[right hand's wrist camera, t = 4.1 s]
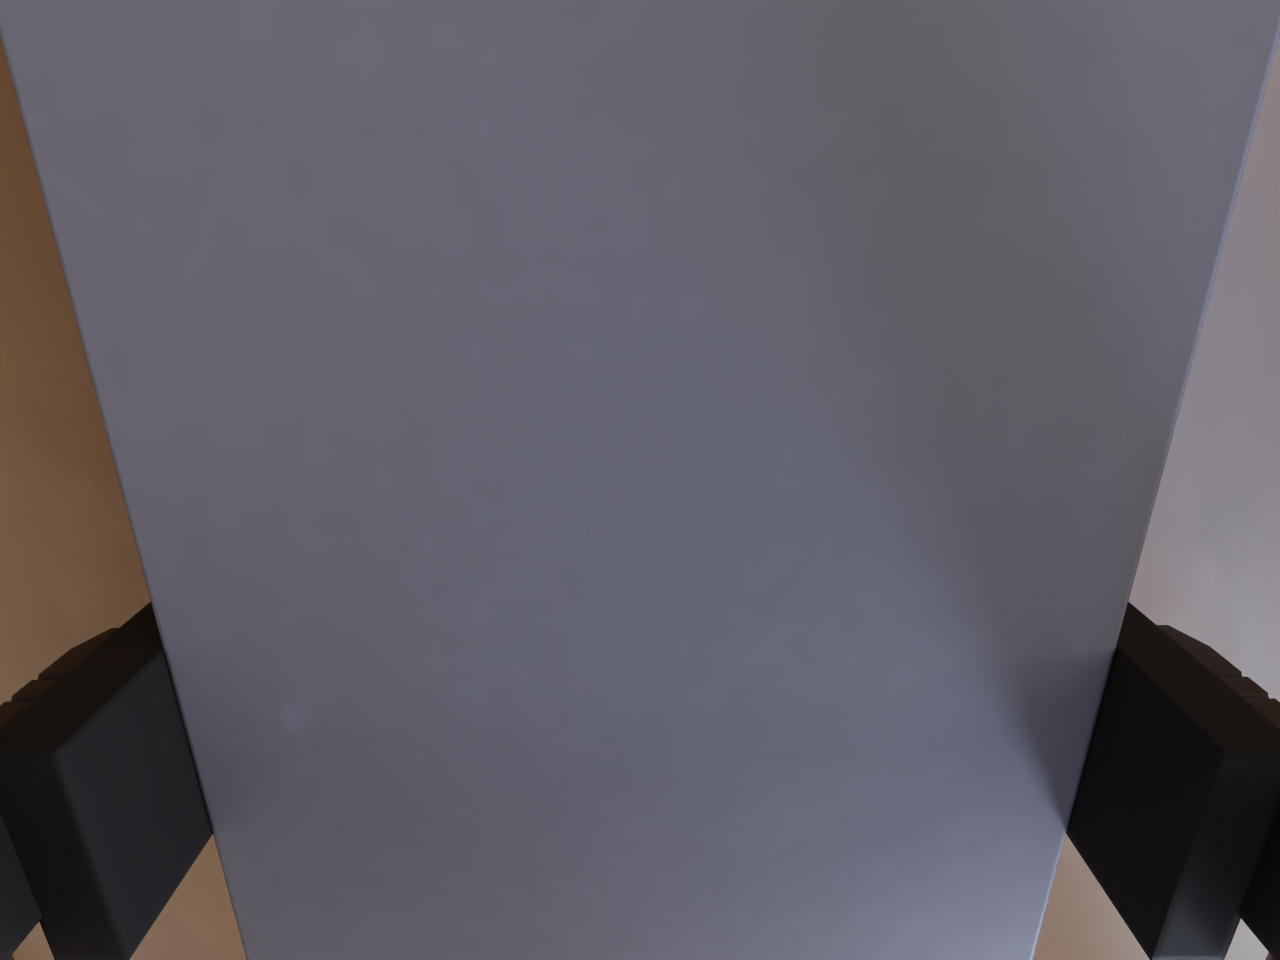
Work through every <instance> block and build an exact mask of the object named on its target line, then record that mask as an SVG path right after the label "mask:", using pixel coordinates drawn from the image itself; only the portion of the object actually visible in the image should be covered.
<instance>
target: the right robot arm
mask: <svg viewBox="0 0 1280 960" xmlns="http://www.w3.org/2000/svg"><path fill="white" fill-rule="evenodd" d="M38 676H39V677H38V680H31V681H30V682H29V683H28V684H26V685H25V686H24V687H23V688H21V689H20V690H19V691H18V692H17V693H15V694H14V695H13V696H12V700H11V702H4V703H3V704H2V705H0V960H14V958H13V956H12V953H13V952H14V951H15V950H16V949H17V947H18V946H19V945H20V944H21V942H22V941H23V940H24V939H25V938H26V936H27V935H28V934H29V933H30V932H31V930H32V929H33V928H34V927H35V925H36V924H37V923H38V922H40V924H41V927H42V929H43V932H44V934H45V937H46V939H47V942H48V944H49V947H50V949H51V952H52V954H53V957H54V959H55V960H129V959H130V958H131V956H132V955H133V953H134V952H135V950H136V949H137V947H138V946H139V944H140V942H141V941H142V939H143V938H144V936H145V935H146V933H147V932H148V930H149V929H150V927H151V926H152V924H153V923H154V921H155V920H156V918H157V917H158V915H159V914H160V912H161V911H162V909H163V908H164V906H165V905H166V903H167V902H168V900H169V899H170V897H171V896H172V894H173V893H174V891H175V890H176V888H177V887H178V885H179V884H180V882H181V881H182V879H183V878H184V876H185V875H186V873H187V872H188V870H189V869H190V867H191V866H192V864H193V863H194V861H195V860H196V858H197V857H198V855H199V854H200V852H201V851H202V849H203V848H204V846H205V845H206V843H207V842H208V840H209V839H210V837H211V836H212V834H213V831H212V828H211V824H210V820H209V816H208V813H207V809H206V805H205V801H204V798H203V794H202V790H201V786H200V783H199V779H198V775H197V771H196V768H195V764H194V760H193V757H192V753H191V749H190V745H189V742H188V738H187V734H186V730H185V727H184V723H183V719H182V715H181V712H180V708H179V704H178V700H177V697H176V693H175V689H174V685H173V682H172V678H171V674H170V670H169V667H168V663H167V659H166V655H165V652H164V648H163V644H162V641H161V637H160V633H159V629H158V626H157V622H156V618H155V614H154V611H153V607H152V603H151V602H150V603H149V604H147V605H146V606H145V607H144V608H143V609H141V610H140V611H139V612H138V613H137V614H135V615H134V616H133V617H132V618H131V619H130V620H128V621H127V622H126V623H125V624H124V625H122V626H121V627H120V628H111V629H109V630H107V631H105V632H103V633H101V634H99V635H97V636H95V637H93V638H91V639H89V640H87V641H86V642H84V643H82V644H80V645H78V646H76V647H74V648H72V649H70V650H69V651H68V652H66V653H65V654H64V655H63V656H61V657H60V658H59V659H58V660H56V661H55V662H54V663H53V664H51V665H50V666H49V667H48V668H46V669H45V670H44V671H43V672H41V673H40V674H39V675H38ZM1066 834H1067V835H1068V837H1069V838H1070V840H1071V841H1072V843H1073V844H1074V846H1075V847H1076V849H1077V850H1078V852H1079V853H1080V855H1081V856H1082V858H1083V859H1084V861H1085V862H1086V864H1087V865H1088V867H1089V868H1090V870H1091V871H1092V873H1093V874H1094V876H1095V877H1096V879H1097V881H1098V882H1099V884H1100V885H1101V887H1102V888H1103V890H1104V891H1105V893H1106V894H1107V896H1108V897H1109V899H1110V900H1111V902H1112V903H1113V905H1114V906H1115V908H1116V909H1117V911H1118V912H1119V914H1120V915H1121V917H1122V918H1123V920H1124V921H1125V923H1126V924H1127V926H1128V927H1129V929H1130V930H1131V932H1132V933H1133V935H1134V936H1135V938H1136V939H1137V941H1138V942H1139V944H1140V945H1141V947H1142V948H1143V950H1144V951H1145V953H1146V954H1147V956H1148V957H1149V959H1150V960H1224V959H1225V956H1226V954H1227V951H1228V949H1229V946H1230V944H1231V941H1232V939H1233V936H1234V934H1235V931H1236V929H1237V926H1238V924H1239V921H1240V919H1242V920H1243V921H1244V922H1245V923H1246V925H1247V926H1248V927H1249V928H1250V929H1251V931H1252V932H1253V933H1254V934H1255V935H1256V937H1257V938H1258V939H1259V940H1260V942H1261V943H1262V944H1263V945H1264V946H1265V948H1266V949H1267V950H1268V951H1269V953H1268V956H1267V958H1266V960H1280V702H1278V701H1277V700H1276V699H1269V697H1268V693H1267V692H1266V691H1265V690H1263V689H1262V688H1261V687H1260V686H1258V685H1257V684H1256V683H1255V682H1253V681H1252V680H1251V679H1250V678H1248V677H1242V675H1241V671H1240V670H1238V669H1237V668H1236V667H1235V666H1233V665H1232V664H1231V663H1230V662H1228V661H1227V660H1226V659H1225V658H1223V657H1222V656H1221V655H1220V654H1218V653H1217V652H1216V651H1215V650H1213V649H1212V648H1211V647H1210V646H1208V645H1206V644H1204V643H1202V642H1200V641H1198V640H1196V639H1194V638H1192V637H1190V636H1188V635H1186V634H1184V633H1182V632H1180V631H1178V630H1176V629H1174V628H1172V627H1170V626H1168V625H1156V624H1154V623H1153V622H1152V621H1151V620H1150V619H1148V618H1147V617H1146V616H1145V615H1144V614H1142V613H1141V612H1140V611H1139V610H1138V609H1136V608H1135V607H1134V606H1133V605H1132V604H1130V603H1129V602H1128V603H1127V607H1126V611H1125V615H1124V618H1123V622H1122V626H1121V630H1120V633H1119V637H1118V641H1117V645H1116V648H1115V652H1114V656H1113V660H1112V663H1111V667H1110V671H1109V675H1108V678H1107V682H1106V686H1105V689H1104V693H1103V697H1102V701H1101V704H1100V708H1099V712H1098V716H1097V719H1096V723H1095V727H1094V731H1093V734H1092V738H1091V742H1090V746H1089V749H1088V753H1087V757H1086V761H1085V764H1084V768H1083V772H1082V776H1081V779H1080V783H1079V787H1078V790H1077V794H1076V798H1075V802H1074V805H1073V809H1072V813H1071V817H1070V820H1069V824H1068V828H1067V832H1066Z"/></svg>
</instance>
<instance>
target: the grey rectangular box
mask: <svg viewBox="0 0 1280 960" xmlns="http://www.w3.org/2000/svg"><path fill="white" fill-rule="evenodd" d="M1279 35H1280V0H0V38H1V42H2V46H3V49H4V53H5V57H6V60H7V64H8V68H9V72H10V75H11V79H12V83H13V87H14V90H15V94H16V98H17V102H18V105H19V109H20V113H21V117H22V120H23V124H24V128H25V132H26V135H27V139H28V143H29V147H30V150H31V154H32V158H33V162H34V165H35V169H36V173H37V176H38V180H39V184H40V188H41V191H42V195H43V199H44V203H45V206H46V210H47V214H48V218H49V221H50V225H51V229H52V233H53V236H54V240H55V244H56V248H57V251H58V255H59V259H60V263H61V266H62V270H63V274H64V278H65V281H66V285H67V289H68V292H69V296H70V300H71V304H72V307H73V311H74V315H75V319H76V322H77V326H78V330H79V334H80V337H81V341H82V345H83V349H84V352H85V356H86V360H87V364H88V367H89V371H90V375H91V379H92V382H93V386H94V390H95V394H96V397H97V401H98V405H99V408H100V412H101V416H102V420H103V423H104V427H105V431H106V435H107V438H108V442H109V446H110V450H111V453H112V457H113V461H114V465H115V468H116V472H117V476H118V480H119V483H120V487H121V491H122V495H123V498H124V502H125V506H126V510H127V513H128V517H129V521H130V524H131V528H132V532H133V536H134V539H135V543H136V547H137V551H138V554H139V558H140V562H141V566H142V569H143V573H144V577H145V581H146V584H147V588H148V592H149V596H150V599H151V603H152V607H153V611H154V614H155V618H156V622H157V626H158V629H159V633H160V637H161V641H162V644H163V648H164V652H165V655H166V659H167V663H168V667H169V670H170V674H171V678H172V682H173V685H174V689H175V693H176V697H177V700H178V704H179V708H180V712H181V715H182V719H183V723H184V727H185V730H186V734H187V738H188V742H189V745H190V749H191V753H192V757H193V760H194V764H195V768H196V771H197V775H198V779H199V783H200V786H201V790H202V794H203V798H204V801H205V805H206V809H207V813H208V816H209V820H210V824H211V828H212V831H213V835H214V839H215V843H216V846H217V850H218V854H219V858H220V861H221V865H222V869H223V873H224V876H225V880H226V884H227V887H228V891H229V895H230V899H231V902H232V906H233V910H234V914H235V917H236V921H237V925H238V929H239V932H240V936H241V940H242V944H243V947H244V951H245V955H246V959H247V960H1032V959H1033V955H1034V951H1035V948H1036V944H1037V940H1038V936H1039V933H1040V929H1041V925H1042V921H1043V918H1044V914H1045V910H1046V906H1047V903H1048V899H1049V895H1050V891H1051V888H1052V884H1053V880H1054V877H1055V873H1056V869H1057V865H1058V862H1059V858H1060V854H1061V850H1062V847H1063V843H1064V839H1065V835H1066V832H1067V828H1068V824H1069V820H1070V817H1071V813H1072V809H1073V805H1074V802H1075V798H1076V794H1077V790H1078V787H1079V783H1080V779H1081V776H1082V772H1083V768H1084V764H1085V761H1086V757H1087V753H1088V749H1089V746H1090V742H1091V738H1092V734H1093V731H1094V727H1095V723H1096V719H1097V716H1098V712H1099V708H1100V704H1101V701H1102V697H1103V693H1104V689H1105V686H1106V682H1107V678H1108V675H1109V671H1110V667H1111V663H1112V660H1113V656H1114V652H1115V648H1116V645H1117V641H1118V637H1119V633H1120V630H1121V626H1122V622H1123V618H1124V615H1125V611H1126V607H1127V603H1128V600H1129V596H1130V592H1131V588H1132V585H1133V581H1134V577H1135V573H1136V570H1137V566H1138V562H1139V559H1140V555H1141V551H1142V547H1143V544H1144V540H1145V536H1146V532H1147V529H1148V525H1149V521H1150V517H1151V514H1152V510H1153V506H1154V502H1155V499H1156V495H1157V491H1158V487H1159V484H1160V480H1161V476H1162V472H1163V469H1164V465H1165V461H1166V458H1167V454H1168V450H1169V446H1170V443H1171V439H1172V435H1173V431H1174V428H1175V424H1176V420H1177V416H1178V413H1179V409H1180V405H1181V401H1182V398H1183V394H1184V390H1185V386H1186V383H1187V379H1188V375H1189V371H1190V368H1191V364H1192V360H1193V357H1194V353H1195V349H1196V345H1197V342H1198V338H1199V334H1200V330H1201V327H1202V323H1203V319H1204V315H1205V312H1206V308H1207V304H1208V300H1209V297H1210V293H1211V289H1212V285H1213V282H1214V278H1215V274H1216V270H1217V267H1218V263H1219V259H1220V256H1221V252H1222V248H1223V244H1224V241H1225V237H1226V233H1227V229H1228V226H1229V222H1230V218H1231V214H1232V211H1233V207H1234V203H1235V199H1236V196H1237V192H1238V188H1239V184H1240V181H1241V177H1242V173H1243V169H1244V166H1245V162H1246V158H1247V154H1248V151H1249V147H1250V143H1251V140H1252V136H1253V132H1254V128H1255V125H1256V121H1257V117H1258V113H1259V110H1260V106H1261V102H1262V98H1263V95H1264V91H1265V87H1266V83H1267V80H1268V76H1269V72H1270V68H1271V65H1272V61H1273V57H1274V53H1275V50H1276V46H1277V42H1278V39H1279Z"/></svg>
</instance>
